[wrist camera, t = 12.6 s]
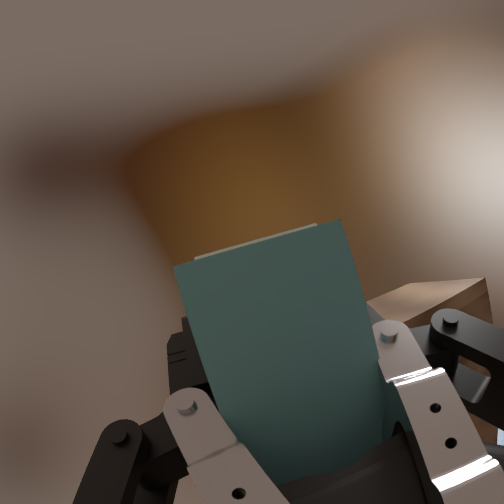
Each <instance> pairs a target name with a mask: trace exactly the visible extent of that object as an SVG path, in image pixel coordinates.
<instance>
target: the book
mask: <svg viewBox="0 0 504 504" xmlns="http://www.w3.org/2000/svg"><path fill="white" fill-rule="evenodd" d="M173 270H174V273H175V277H176V281H177V284H178V288H179V291H180V294H181V298H182V301H183V305H184V308H185V311H186V315H187V318H188V321H189V324H190V328H191V331H192V334H193V337H194V340H195V343H196V346H197V349H198V352H199V355H200V358H201V361H202V364H203V367H204V370H205V373H206V376H207V379H208V382H209V384H210V387H211V390H212V393H213V396H214V398H215V401H216V404H217V407H218V409H219V412H220V415H221V417H222V418H223V419H224V421H225V422H226V424H227V425H228V426H229V428H230V429H231V431H232V432H233V434H234V435H235V437H236V438H237V439H238V440H239V441H241V442H242V443H243V444H244V445H245V447H246V448H247V449H248V451H249V452H250V453H251V455H252V456H253V458H254V459H255V460H256V462H257V463H258V464H259V465H260V467H261V468H262V469H263V471H264V472H265V473H266V475H267V476H268V477H269V478H270V480H271V481H272V482H273V483H274V485H275V486H278V485H281V484H284V483H287V482H290V481H293V480H296V479H299V478H302V477H306V476H313V475H319V474H325V473H331V472H336V471H341V470H344V469H347V468H348V467H350V466H351V465H352V464H353V463H355V462H356V461H357V460H359V459H360V458H361V457H362V456H364V455H365V454H366V453H367V452H369V451H370V450H371V449H372V448H374V447H375V446H376V445H378V444H380V443H382V422H383V417H384V412H385V407H386V402H385V395H384V391H383V389H382V386H381V383H380V381H379V374H378V363H377V359H380V358H379V354H378V349H377V345H376V341H375V337H374V333H373V329H372V325H371V321H370V317H369V313H368V309H367V306H366V302H365V298H364V295H363V291H362V288H361V284H360V281H359V277H358V274H357V270H356V267H355V264H354V260H353V257H352V254H351V251H350V248H349V244H348V241H347V238H346V235H345V232H344V229H343V226H342V223H341V220H340V219H339V220H335V221H331V222H328V223H324V224H321V225H317V223H314V224H311V225H307V226H304V227H300V228H296V229H293V230H289V231H286V232H282V233H278V234H275V235H271V236H268V237H264V238H261V239H257V240H253V241H250V242H247V243H243V244H239V245H236V246H232V247H229V248H225V249H222V250H218V251H215V252H211V253H208V254H205V255H201V256H197V257H195V260H194V261H190V262H187V263H183V264H180V265H177V266H173Z"/></svg>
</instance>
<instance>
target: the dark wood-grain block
mask: <svg viewBox="0 0 504 504" xmlns="http://www.w3.org/2000/svg"><path fill="white" fill-rule="evenodd" d="M367 303H368V304H369V305H370V306H371V307H372V308H373V309H374V310H375V311H376V312H377V313H378V314H379V315H380V316H381V317H382V318H383V319H385V320H395V321H399V322H402V323H403V324H405V325H406V326H407V327H408V328H416V327H421V326H426V325H430V323H431V318H432V316H433V314H434V313H435V312H437V311H439V310H441V309H456V310H459V311H461V312H464V313H466V314H468V315H471V316H473V317H476V318H478V319H480V320H483V321H485V322H488V323H490V324H492V325H493V320H492V313H491V307H490V301H489V295H488V290H487V285H486V280H485V278H473V279H462V280H449V281H437V282H422V283H409V284H407V285H405V286H403V287H400V288H398V289H396V290H393V291H391V292H389V293H386V294H384V295H382V296H379V297H377V298H374V299H372V300H369V301H367ZM459 363H460V364H462V365H464V366H466V367H468V368H470V369H472V370H474V371H476V372H478V373H480V374H482V375H484V376H486V377H491V375H490V372H489V371H488V370H487V369H486V368H485V367H483V366H480V365H478V364H476V363H474V362H472V361H470V360H468V359H466V358H464V357H462V356H461V357H460V360H459ZM467 412H468V411H467ZM468 414H469V416H470V418H471V420H472V422H473V424H474V426H475V428H476V430H477V432H478V434H479V436H480V438H481V440H482V442H486V443H491V444H496V445H497V434H498V428H497V427H496V426H494V425H492V424H490V423H488V422H486V421H484V420H482V419H481V418H479V417H477V416H475V415H473V414H471V413H469V412H468Z"/></svg>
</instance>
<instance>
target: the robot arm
mask: <svg viewBox="0 0 504 504" xmlns="http://www.w3.org/2000/svg"><path fill="white" fill-rule="evenodd" d="M365 302H366V301H365ZM366 306H367V309H368V313H369V317H370V321H371V325H372V329H373V333H374V337H375V341H376V345H377V349H378V354H379V358H380V359H377V363H378V374H379V381H380V383H381V386H382V389H383V391H384V395H385V402H386V407H385V412H384V417H383V422H382V443H380V444H378V445H376V446H375V447H374V448H372V449H371V450H370V451H369V452H367V453H366V454H365V455H364V456H362V457H361V458H360V459H359V460H357V461H356V462H355V463H353V464H352V465H351V466H350V467H348V468H347V469H344V470H341V471H336V472H331V473H325V474H319V475H313V476H306V477H302V478H299V479H296V480H293V481H290V482H287V483H284V484H281V485H278V486H275V485H274V483H273V482H272V481H271V480H270V478H269V477H268V476H267V475H266V473H265V472H264V471H263V469H262V468H261V467H260V465H259V464H258V463H257V462H256V460H255V459H254V458H253V456H252V455H251V453H250V452H249V451H248V449H247V448H246V447H245V445H244V444H243V443H242V442H241V441H239V440H238V439H237V438H236V437H235V435H234V434H233V432H232V431H231V429H230V428H229V426H228V425H227V424H226V422H225V421H224V419H223V418H222V417H221V415H220V412H219V409H218V407H217V404H216V401H215V398H214V396H213V393H212V390H211V387H210V384H209V382H208V379H207V376H206V373H205V370H204V367H203V364H202V361H201V358H200V355H199V352H198V349H197V346H196V343H195V340H194V337H193V334H192V331H191V328H190V324H189V321H188V318H187V316H186V317H182V327H183V332H179V333H175V334H172V335H171V337H170V339H169V341H168V343H167V355H168V374H169V387H170V397H169V398H168V399H167V400H166V402H165V404H164V407H163V412H162V413H161V414H160V415H159V416H157V417H156V418H154V419H152V420H150V421H148V422H146V423H144V424H142V425H140V426H139V425H138V424H137V423H136V422H134V421H132V420H128V419H127V420H126V419H123V420H118V421H115V422H113V423H111V424H109V425H108V426H107V427H106V428H105V429H104V431H103V432H102V434H101V436H100V438H99V440H98V443H97V445H96V447H95V449H94V452H93V454H92V456H91V459H90V461H89V464H88V466H87V468H86V471H85V474H84V476H83V478H82V481H81V483H80V486H79V488H78V491H77V493H76V496H75V498H74V501H73V504H173V502H174V498H175V493H176V489H177V485H178V480H179V479H181V478H183V477H185V476H187V475H189V474H190V476H191V478H192V480H193V482H194V484H195V486H196V487H197V489H198V491H199V493H200V495H201V496H202V498H203V500H204V502H205V503H206V504H504V446H502V445H496V444H491V443H486V442H482V440H481V438H480V436H479V434H478V432H477V430H476V428H475V426H474V424H473V422H472V420H471V418H470V416H469V414H468V412H469V413H471V414H473V415H475V416H477V417H479V418H481V419H482V420H484V421H486V422H488V423H490V424H492V425H494V426H496V427H497V428H499V429H501V430H503V431H504V329H502V328H499V327H497V326H495V325H492V324H490V323H488V322H485V321H483V320H480V319H478V318H476V317H473V316H471V315H468V314H466V313H464V312H461V311H459V310H456V309H441V310H439V311H437V312H435V313H434V314H433V316H432V318H431V323H430V325H426V326H421V327H416V328H408V327H407V326H406V325H405V324H403V323H402V322H399V321H395V320H385V319H383V318H382V317H381V316H380V315H379V314H378V313H377V312H376V311H375V310H374V309H373V308H372V307H371V306H370V305H369V304H368V303H367V302H366ZM461 356H462V357H464V358H466V359H468V360H470V361H472V362H474V363H476V364H478V365H480V366H483V367H485V368H486V369H487V370H488V371H489V372H490V375H491V377H486V376H484V375H482V374H480V373H478V372H476V371H474V370H472V369H470V368H468V367H466V366H464V365H462V364H460V363H459V360H460V357H461ZM467 411H468V412H467Z"/></svg>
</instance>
